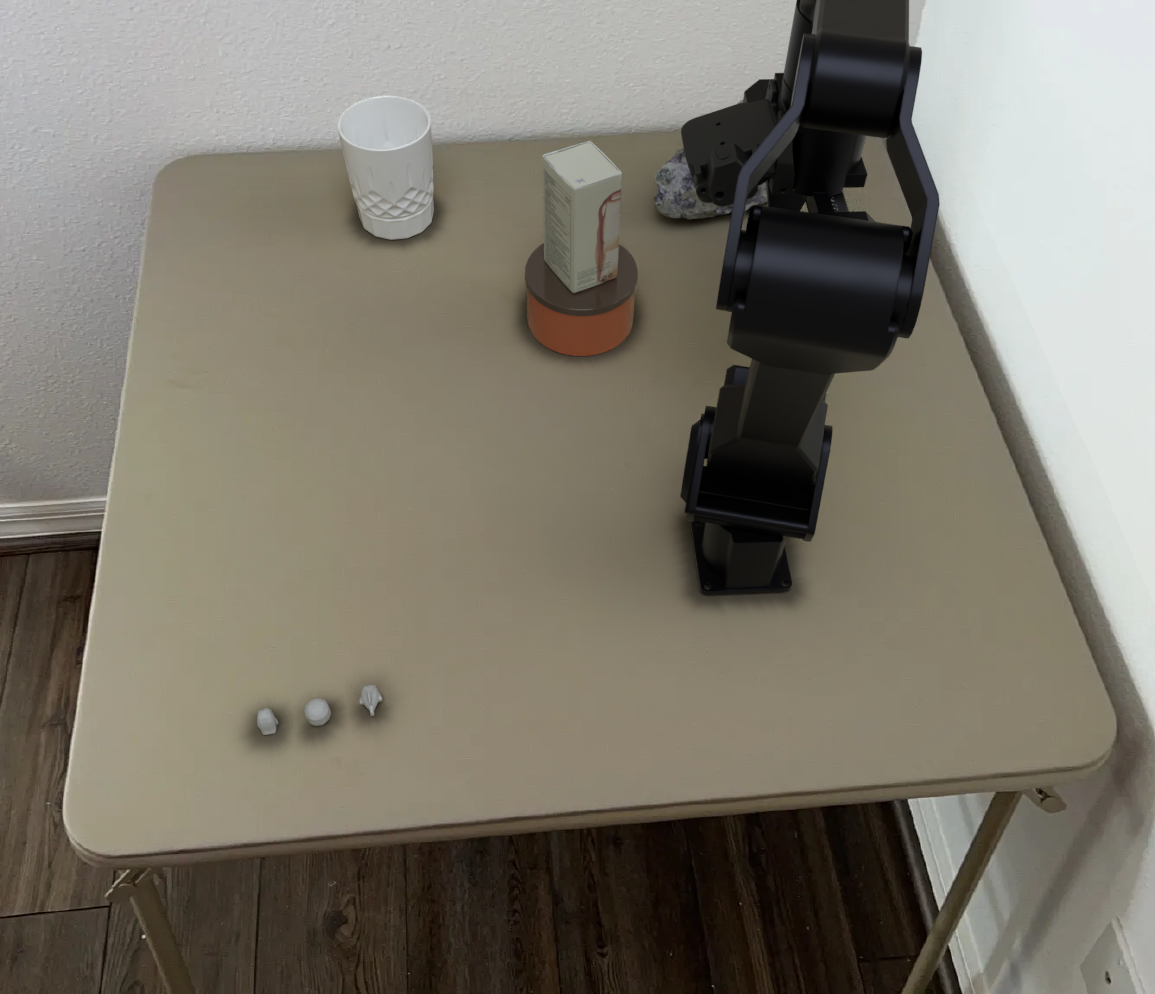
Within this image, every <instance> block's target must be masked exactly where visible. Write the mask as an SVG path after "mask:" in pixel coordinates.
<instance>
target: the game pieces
mask: <svg viewBox="0 0 1155 994" xmlns="http://www.w3.org/2000/svg"><path fill="white" fill-rule="evenodd" d="M382 701H383V697H382V696H381V694H380V692H379V689H378V687H377V686H376V684H374V683H373V684H368V685H364V686H362V689H361V693H360V697H359V700H358V703H359V705H360V706H365V708H366V709H367V710H368V711H369V714H370V716H371V717H374V716H375V714H376V713H375V710H376V708H377V705H378V703H380V702H382ZM304 715H305V717H306V720H307V722H308V723H309V724H310V725H313V726H314V727H318V726H324V725H325V724H326V723H328V721H329V720H330V719H331V715H332V711H331V709H330V706H329V703H328V702H327V701H326V700H325V699H324V698H320V697H319V698H318V697H316V698H313V699H311V700H309V701H308V702H307V703H306V704H305V706H304ZM277 725H279V721H278V719H277V718H276V717H275V714H274V712H273V710H272V709H271V708H268V707H262V709H259V711H258V712H257V718H256V726H257V728H259V729H260V732H261V733H262V735H264V736H267V735H268V736H269V735H273V734H275V733H277Z"/></svg>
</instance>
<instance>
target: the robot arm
mask: <svg viewBox="0 0 1155 994" xmlns="http://www.w3.org/2000/svg"><path fill="white" fill-rule="evenodd" d="M789 35H790V36H789V42H788V46H787V53H786V57H785V64H784V70H783V72H774V75H773V78H759V79H758V80H757V81H755V82H754V83H753V84H752V85H750V86H749V87H748V88H746V90H744V92H743V99H742V100H743V103H739V102H738V103H739V104H737V103H735V104H733V105H730V106H728V107H724V108H721V109H718V110H715V111H711V112H709V113H706V114H702V115H700V116H696V117H694V118H691V119H689V120H687V121H686V122H685V123H684V124H683V125H682V127H681V128H680V136H681V141H682V146H683V147H684V152H685V157H686V161H687V164H688V167H689V171H690V174H691V177H692V180H693V183H694V186H695V189H696V193H697V195H698V198H699V199H700V201H702V202H705V203H712V202H713V204H714V205H717V206H720V207H724V206H727V205H730V204H733V208H732V212H731V213H730V220H729V227H728V232H727V238H726V244H725V249H724V255H723V261H722V267H721V271H720V272H721V273H720V279H719V285H718V292H717V297H716V304H715V310H718V311H723V312H727V313H730V320H729V326H728V332H727V339H726V345H728V347H729V348H730V349H731V350H732V351H735V352H737V353H739V354H741V355H743V356H745V357H748V358H749V359H751V360H750V363H749V366H744V365H739V364H732V365H731V366H729V367H728V368H727V369H726V371H725V376H724V382H723V385H722V386H721V387H719V390H718V395H717V402H716V406H712V405H711V406H710V405H705V409H704V413H701V414H700V418H699V420H697V421H696V422H694V423H692V424H691V427H690V433H689V434H690V435H689V438H688V439H689V440H688V445H687V452H686V456H685V462H684V463H685V464H684V470H683V475H682V482H681V488H680V495H679V496H680V498H681V500H683V502H684V503H685V507H684V514H686V521H687V522H690V532H691V539H692V546H693V552H694V560H695V566H696V573H697V579H698V581H697V582H698V587H699V591H700V593H701V594H702V595H705V596H718V595H721V596H723V595H724V596H725V595H740V594H741V595H744V594H745V595H746V594H747V595H748V594H765V593H766V594H769V593H772V594H773V593H787V592H789V591H791V589H792V588H793V587H792V586H793V581H792V580H793V579H792V575H791V571H790V565H789V560H788V556H787V550H786V546H785V545H786V542H787V539H788V538H793V539H799V540H802V541H804V542H809V543H811V542H812V540H813V538H814V536H815V533H816V529H817V524H818V517H819V513H820V507H821V502H822V496H823V492H824V491H823V490H824V485H825V479H826V475H827V469H828V464H829V458H830V454H831V447H832V440H833V432H834V431H833V425H830V424H826V421H827V413H828V408H829V405H828V403H827V402H826V398H827V397H826V396H827V392H828V389H829V388H830V385H831V383H832V382H833V379H834V377H835V375H836V374H844V373H845V374H846V373H847V374H848V373H856V372H857V373H858V372H869V371H870V372H871V371H874V370H876V369H877V368H878V367H880V366H881V365H882V364H883V363H884V362H885V361H886V360H887V359H888V358H889V357H890V356H891V354H892V353H893V351H894V348H895V346H896V344H897V340H898V338H901V339H910V337H911V336H912V335H913V332H914V330H915V326H916V325H917V320H918V317H919V314H920V310H921V306H922V301H923V297H924V292H925V286H926V281H927V275H928V270H929V264H930V260H931V253H932V248H933V243H934V237H935V231H936V226H937V220H938V215H939V210H940V195H939V192H938V191H939V190H938V189H937V186H936V182H935V181H934V178H933V175H932V172H931V170H930V167H929V164H928V162H927V159H926V157H925V154H924V150H923V149H922V146H921V143H920V140H919V138H918V137H919V136H918V135H917V133H916V129H915V127H914V124H913V120H912V119H913V113H914V108H915V102H916V97H917V92H918V86H919V81H920V75H921V68H922V61H923V60H922V59H923V50H922V46H921V47H920V46H912V45H910V0H796V2H795V8H794V14H793V19H792V25H791V30H790V34H789ZM867 137H871V138H873V137H874V138H880V139H885V143H886V145H885V146H886V152H887V155H888V157H889V160H890V162H891V165H892V168H893V171H894V173H895V175H896V177H897V181H898V184H899V186H900V189H901V192H902V194H903V197H904V200H905V203H906V205H907V208H908V211H909V213H910V216H911V224H910V226H907V225H901V224H893V223H887V222H879V221H876V220H875V219H874V218H873V217H872V216H871V215H870V214H869V213H868V212H867V211H865V210H860V211H859V210H858V211H850V210H849V206H848V203H847V199H846V197H845V193H844V189H849V188H850V189H853V188H865V185H866V181H867V177H868V171H867V168H866V165H865V163H864V160H863V157H862V154H863V150H864V146H865V143H866V139H867ZM765 182H766V187H767V199H768V200H767V206H766V205H760V204H758V205H753V206H751V207H750V208H749V209H748V216H747V222H746V226H745V229H743V223H744V217H745V212H746V211H745V207H746V201H747V199H750V198H753V197H754V196H755V195H756V193H757V192H758V190H759V188H758V186H759V185H761V184H763V183H765ZM804 205H805V206H806V210H807V211H802V208H803V207H804ZM705 460H706V465H705ZM697 524H698V525H697ZM784 584H786V585H784ZM706 587H708V588H706Z"/></svg>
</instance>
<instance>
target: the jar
mask: <svg viewBox="0 0 1155 994" xmlns="http://www.w3.org/2000/svg"><path fill="white" fill-rule="evenodd" d="M638 271H639V270H638V265H637V262H636V260H635V258H634V257H633V255H632V254H631V253H630V251H629V250H627V248H625V247H624V246H622V244H619V251H618V273H617V277H616V278H614V279H612V280H609V281H607V282H604V283H602V284H599V285H596V286H594V287H591V288H588V289H585V290H582V291H579V292H576V293H572V292H571V291H570V290H569V289H568V287H567V286H566V285H565V284H564V283H563V282H562V281H561V280H560V278H559V277H558V276H557V275H556V274H555V273H554V271H553V270H552V269H551V268H550V266H549V265H548V264H547V263H546V262H545V260H544V242H543V243H541V244H540V245H539V246H537V247H536V248H535V249H534V250H533V251H532V252H531V253H530V255H529V256H528V258H527V260H526V263H525V265H524V281H525V286H526V287H525V288H526V321H527V325H528V328H529V331H530V332H531V335H532V336H533V337H534V338H535V340H536V341H538V342H539V343H540V344H541V345H543V346H544V347H545V348H547V349H548V350H551V351H553V352H555V353H558V354H561V355H566V356H572V357H573V356H574V357H589V356H590V357H591V356H595V355H600V354H604V353H607V352H609V351H611V350H613V349H615V348H616V347H618V346H620V345H621V344H622V343H623V342H624V341H625V340H626V338H627V337H628V336H629V334H630V333H631V331H632V329H633V326H634V325H633V324H634V318H635V317H634V315H635V303H636V290H637V289H636V288H637V286H638V279H639V278H638V277H639V272H638Z"/></svg>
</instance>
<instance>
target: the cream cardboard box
mask: <svg viewBox="0 0 1155 994" xmlns="http://www.w3.org/2000/svg"><path fill="white" fill-rule="evenodd" d="M622 184H623V172H622V171H621V170H620V168H618V166H617V165H616V164H615V163H614V162H613V161H612V160H611V159H610V158H609V157H608V156H607V155H606V154H605V153H604V152H603V151H602V150H601V149H600V148H599V147H598V146H597V145H595V144H594V143H593V142H592V140H588V141H584V142H581V143H577V144H573V145H570V146H566V147H564V148H561V149H557V150H554V151H550V152H547V153H545V154H543V155H542V200H543V201H542V206H543V207H542V209H543V210H542V211H543V243H544V260H545V262H546V263H547V264H548V265H549V266H550V268H551V269H552V270H553V271H554V273H555V274H556V275H557V276H558V277H559V278H560V280H561V281H562V282H563V283H564V284H565V285H566V286H567V287H568V289H569V290H570V291H571V292H572V293H576V292H579V291H582V290H585V289H588V288H591V287H594V286H596V285H599V284H602V283H604V282H607V281H609V280H612V279H614V278H616V277H617V273H618V251H619V245H620V228H621V227H620V225H621V207H622V206H621V204H622V186H623V185H622Z"/></svg>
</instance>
